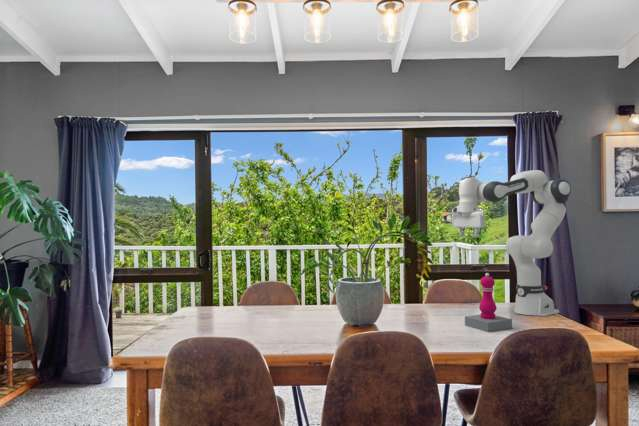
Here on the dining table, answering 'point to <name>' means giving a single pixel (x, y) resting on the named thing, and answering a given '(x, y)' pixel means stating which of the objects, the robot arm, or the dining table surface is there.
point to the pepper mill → (487, 298)
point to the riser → (488, 323)
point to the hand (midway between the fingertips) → (468, 236)
